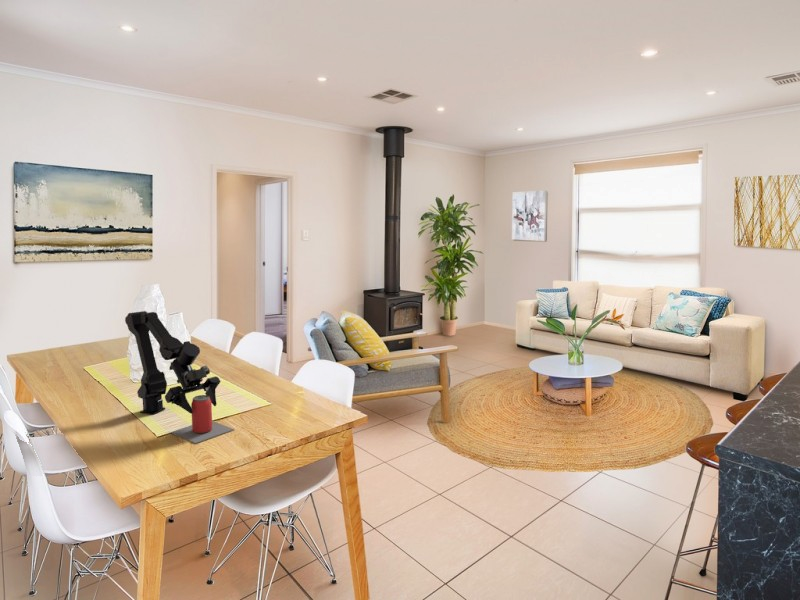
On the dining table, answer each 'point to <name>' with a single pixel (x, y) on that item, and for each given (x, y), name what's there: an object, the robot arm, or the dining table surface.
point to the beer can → (201, 414)
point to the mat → (200, 437)
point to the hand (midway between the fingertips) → (204, 409)
